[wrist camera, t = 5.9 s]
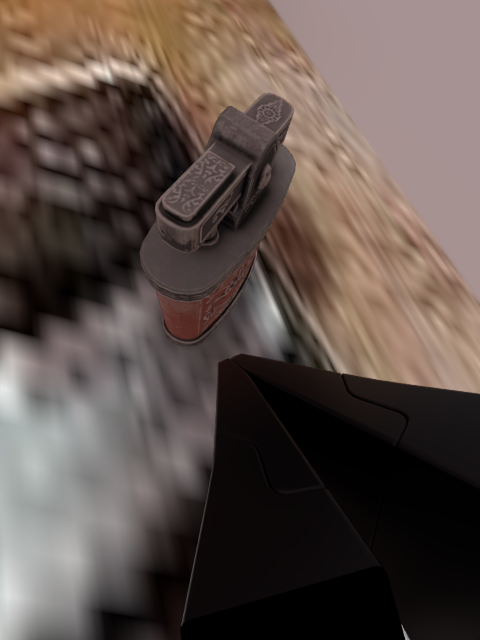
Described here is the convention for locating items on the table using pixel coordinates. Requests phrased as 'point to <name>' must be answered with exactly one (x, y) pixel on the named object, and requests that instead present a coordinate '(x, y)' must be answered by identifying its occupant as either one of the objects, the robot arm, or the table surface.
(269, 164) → the lighter
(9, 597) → the table surface
